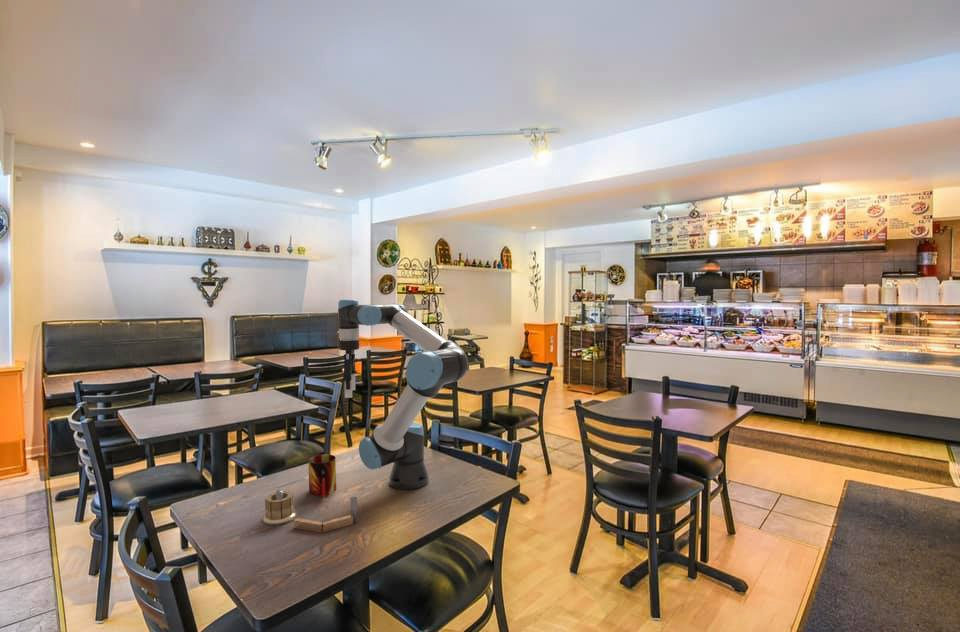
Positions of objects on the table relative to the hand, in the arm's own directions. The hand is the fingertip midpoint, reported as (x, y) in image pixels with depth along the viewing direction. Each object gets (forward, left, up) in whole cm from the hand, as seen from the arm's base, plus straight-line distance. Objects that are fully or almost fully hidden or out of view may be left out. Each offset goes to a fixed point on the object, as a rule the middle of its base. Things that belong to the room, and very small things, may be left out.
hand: (350, 393), depth 183 cm
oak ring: (+20, +27, -33) cm, 47 cm away
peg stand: (+20, +27, -35) cm, 48 cm away
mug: (+8, +9, -35) cm, 37 cm away
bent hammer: (+4, +36, -35) cm, 50 cm away
